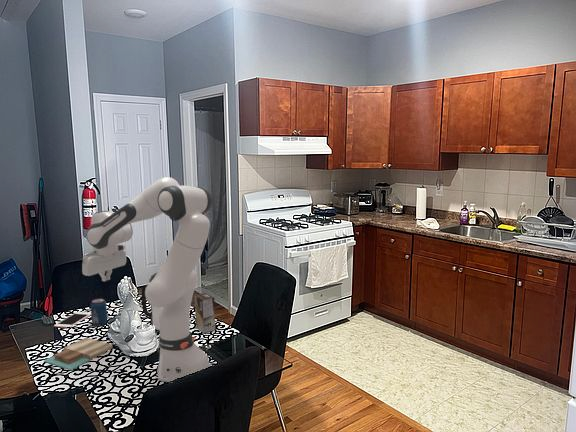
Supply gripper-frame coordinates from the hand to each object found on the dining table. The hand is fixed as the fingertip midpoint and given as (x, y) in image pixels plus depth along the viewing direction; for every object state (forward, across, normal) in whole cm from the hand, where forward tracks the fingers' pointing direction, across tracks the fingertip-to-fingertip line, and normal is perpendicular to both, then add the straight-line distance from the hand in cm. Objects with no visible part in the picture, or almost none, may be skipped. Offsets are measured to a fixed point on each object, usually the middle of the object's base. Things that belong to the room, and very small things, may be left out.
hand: (106, 280), depth 180 cm
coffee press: (+29, +23, -9) cm, 38 cm away
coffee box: (+29, +32, -27) cm, 51 cm away
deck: (+29, -8, +4) cm, 30 cm away
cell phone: (+30, +12, +39) cm, 51 cm away
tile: (+29, -17, +4) cm, 34 cm away
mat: (+29, -18, +4) cm, 34 cm away
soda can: (+29, +14, +23) cm, 40 cm away
